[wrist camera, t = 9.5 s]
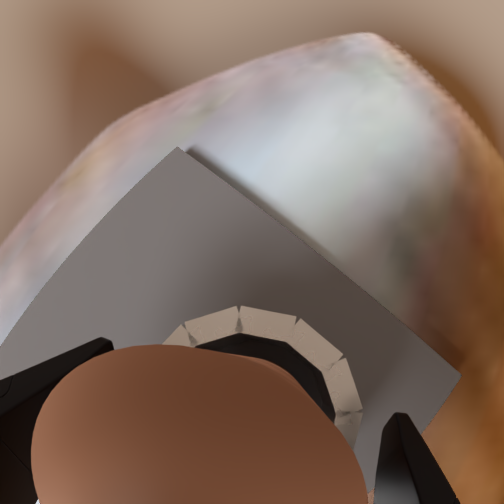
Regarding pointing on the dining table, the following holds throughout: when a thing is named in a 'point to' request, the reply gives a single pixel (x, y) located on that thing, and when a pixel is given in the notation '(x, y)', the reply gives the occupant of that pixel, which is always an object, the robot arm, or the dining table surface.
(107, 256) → the charcoal mat
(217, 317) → the stone sleeve
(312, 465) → the terracotta plug
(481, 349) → the dining table surface
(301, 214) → the dining table surface
